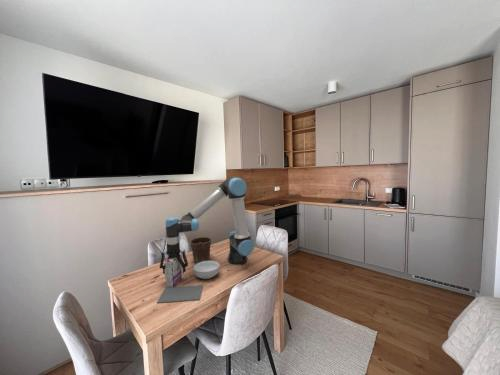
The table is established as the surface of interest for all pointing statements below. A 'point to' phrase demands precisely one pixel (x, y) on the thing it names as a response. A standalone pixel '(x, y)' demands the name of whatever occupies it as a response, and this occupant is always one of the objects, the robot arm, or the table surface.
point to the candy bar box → (173, 271)
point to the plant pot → (201, 249)
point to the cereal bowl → (206, 269)
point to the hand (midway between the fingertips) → (174, 277)
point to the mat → (180, 294)
